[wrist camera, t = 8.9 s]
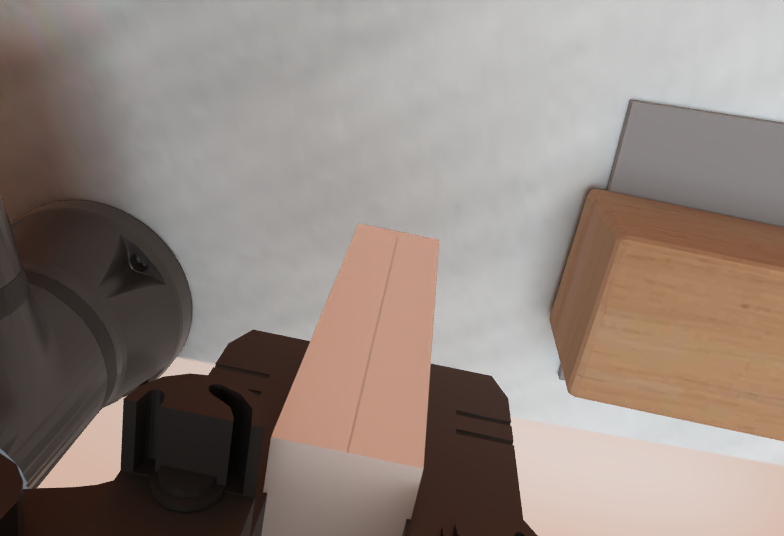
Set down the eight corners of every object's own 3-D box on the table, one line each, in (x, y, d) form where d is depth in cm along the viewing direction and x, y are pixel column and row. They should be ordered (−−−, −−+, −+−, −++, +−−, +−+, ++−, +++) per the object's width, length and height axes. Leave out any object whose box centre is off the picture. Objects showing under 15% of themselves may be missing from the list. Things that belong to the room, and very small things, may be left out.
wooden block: (588, 185, 45) (895, 248, 45) (546, 320, 49) (829, 380, 49) (620, 236, 36) (1006, 317, 36) (566, 398, 40) (914, 472, 40)
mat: (557, 373, 52) (559, 379, 51) (630, 99, 44) (633, 101, 43) (770, 409, 51) (774, 415, 50) (881, 138, 43) (888, 140, 43)
